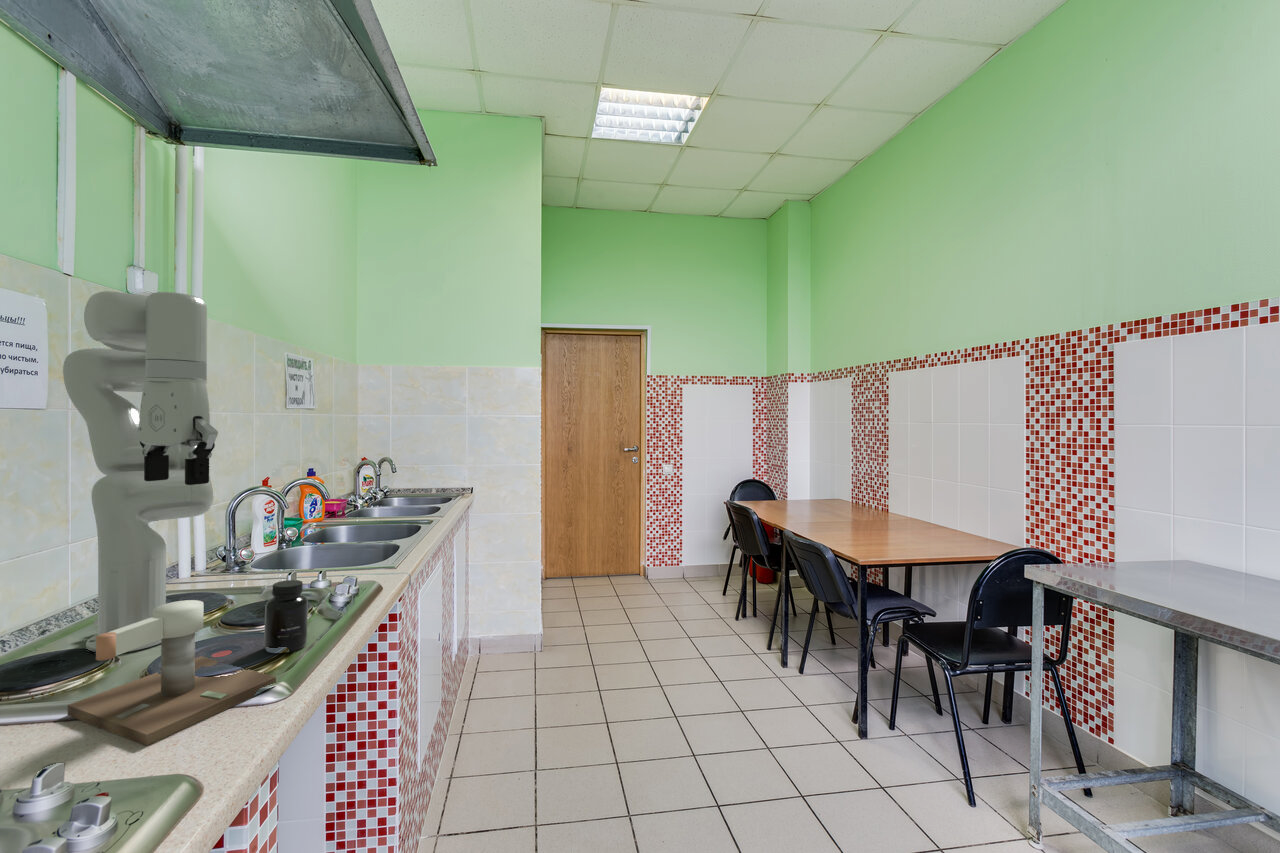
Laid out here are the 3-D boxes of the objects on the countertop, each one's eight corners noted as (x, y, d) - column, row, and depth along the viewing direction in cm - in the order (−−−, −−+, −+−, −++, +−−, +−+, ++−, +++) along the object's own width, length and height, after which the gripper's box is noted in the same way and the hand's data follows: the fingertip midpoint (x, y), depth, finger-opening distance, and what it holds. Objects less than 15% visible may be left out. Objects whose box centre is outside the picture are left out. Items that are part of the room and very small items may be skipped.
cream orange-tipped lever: (181, 621, 91) (181, 598, 91) (213, 625, 90) (213, 602, 90) (79, 658, 77) (80, 631, 77) (116, 663, 76) (116, 636, 76)
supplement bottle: (287, 657, 104) (288, 590, 103) (254, 652, 105) (255, 587, 105) (315, 642, 110) (316, 579, 110) (285, 638, 112) (286, 576, 111)
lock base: (67, 715, 83) (67, 643, 82) (201, 664, 100) (202, 604, 99) (146, 745, 76) (147, 668, 76) (275, 686, 93) (276, 622, 93)
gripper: (114, 372, 91) (114, 481, 91) (187, 371, 84) (186, 488, 85) (167, 375, 98) (167, 476, 98) (238, 374, 91) (238, 483, 92)
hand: (176, 482), depth 91 cm, fingers open, 9 cm apart
